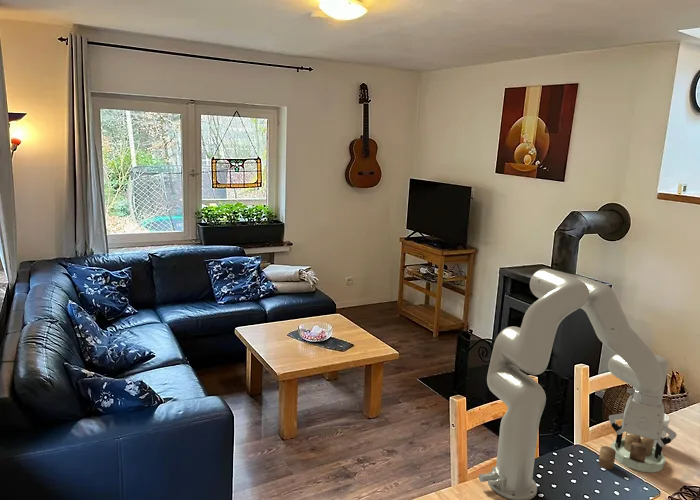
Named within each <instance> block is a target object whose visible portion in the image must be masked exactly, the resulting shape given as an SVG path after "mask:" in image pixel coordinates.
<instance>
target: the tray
mask: <svg viewBox="0 0 700 500" xmlns="http://www.w3.org/2000/svg"><path fill="white" fill-rule="evenodd" d="M633 442H638V443H641V444H644V445H645V446H646V447H647V450H646V456H645V462H644V463H641V462H636V461H634V460H632V459H629V456H630V450H631V444H632V443H633ZM653 444H654V440H653V439H649V438H645V437H641V436H638V435H634V434H631V433H628V432H625V436H624V438H623V437H622V441H621V447H620V448H618V443H616V439H614V441H612V442H611V444H610V447H611V448H613V449H614V450H615V451H616V454H615V461H617V462H618V463H620V464H621V465H622V466H625V467H626V468H628V469H631V470H633V471H636V472H642V473H647V474H648V473H659V472H661V471H662V470H663V469H664V466H665V464H666V457H665V455H664V453H663V452H661V456H660V455H658V459H656V458H655V449H656V448H655V447H654V446H653Z"/></svg>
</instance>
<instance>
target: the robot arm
mask: <svg viewBox="0 0 700 500" xmlns="http://www.w3.org/2000/svg"><path fill="white" fill-rule="evenodd" d="M529 289H530V291H531V293H532V295H534V296H535V297H536V298H538V299H537V300H536V301H534V302H533V303H532V304H531V305H530V306H529V307H528V309H526V311H525V313H524V316H523V318H522V322H521V325H520V327H518V326H513V325H512V326H508V327H505V328H504V329H502V330H501V331H500V332H499V333H498V335H497V336H496V338H495V341H494V343H493V347H492V348H493V349H492V351H491V356H490V361H489V366H488V371H487V375H486V383H487V387H488V389H489V391H490V392H491V393H492V394H493V395H495V397H497V398H498V399H499V400H500V401H502V403H504V404H505V405H506V407H507V410H506V412H505V414H504V415H503V416H502V417H501V421H500V426H499V435H498V436H499V437H498V443H497V444H498V446H497V453H496V463H495V466H493V467H492V468H491V469H492V470H491V471H489V472H488V473H479V475H478V480H479V482H480V483H484V482H487V484H488V486H489V487H490V488H491V489H492V491H494V492H495V493H496V494H498V495H500V496H501V497H503V498H505V499H509V500H532V499H533V498H535V496H537V493H538V485H537V483H536V481H535V480H534V479H533V477H534V475H533V474H534V469H535V468H534V467H535V459H536V452H537V443H538V442H537V441H538V432H539V427H540V422H541V417H542V415H543V412H544V409H545V406H546V402H547V401H546V400H547V397H546V393H545V392H546V391H545V390H544V389H543V387H542V385H541V384H539V382H537V381H536V379H535V380H534V378H532V377H531V376H529V375H532V376H537V375H541V374H543V373H544V372H545V371H546V369H547V367H548V365H549V362H550V358H551V354H552V350H553V346H554V343H555V342H554V341H555V338H556V334H557V330H558V328H559V326H560V324H561V322H562V321H563V320H564V319H565V318H566V317H567V316H569V315H570V314H572V313H574V312H575V311H577V310H579V309H581V310H583V311H584V312H585V314H586V315H587V317H588V319H589V322H590V323H591V326H592V327H593V330H594V332H595V335H596V336H597V338H598V339H599V341H600V342H601V343H602V344H604V345H605V346H606V347H607V348H608V349H609V350H611V352H612V353H614V355H612V356H611V357H610V358H609V359H608V363H607V367H608V371H609V373H611V374H612V375H613V376H614V377H615V378H617V379H619V380H620V381H622V382H623V383H626V384H628V385H630V386H632V387H631V388H627V389H626V394H627V393H628V394H629V397H628V398H627V401H626V404H625V408H624V410H623V412H622V413H616V414H610V415H609V416H608V420H609V422H610V425H611V427H612V428H613V430H614V432H616V437H615V440H616V443H618V448H620V447H621V441H622V439H623V433H626V432H628V433H631V434H634V435H638V436H641V437H645V438H649V439H653V440H656V441H657V443H656V449H655V458H656V459H658V455H660V456H661V452H662V451H663V447H665V446H666V445H668V444H671V443H672V441H673V440H674V439H676V438H677V432H675V431H674V430H672V428H671V427H669V426H668V427H667V426H666V425H664V424H663V422H664V413H665V405H664V403H663V397H664V391H665V385H666V380H667V376H668V375H667V374H668V370H669V362H668V360H667V359H666V358H665V357H663V356H662V355H658V354H655V353H654V352H653V351H652V349H651V348H650V347H649V346H648V345H647V343H646V342H645V341H644V340H643V339H642V338H641V337H640V336H639V334H637V333H636V332H635V330H634V329H633V328H632V327H631V326H630V324H629V323H628V319H627V318H626V315H625V313H624V311H623V308H622V306H621V304H620V301H619V299H618V297H617V294H616V293H615V291H614V290H613V288H611V287H610V286H609V285H608V284H605V283H603V282H600V281H597V280H594V279H591V278H588V277H585V276H580V275H577V274H571V273H569V272H564V271H560V270H555V269H551V268H541V269H538V270H537V271H535V272H534V273H533V274H532V276H531V278H530V281H529ZM524 372H525V373H524ZM528 374H529V375H528ZM618 420H619V421H620V420H621V421H622V422H621V425H618V424H617V422H616V421H618ZM662 430H663V431H665V432H666V434H667V435H666V437H665V438H662V437H661V435H662ZM662 453H663V452H662Z"/></svg>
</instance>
